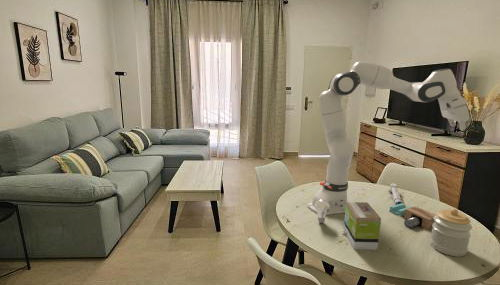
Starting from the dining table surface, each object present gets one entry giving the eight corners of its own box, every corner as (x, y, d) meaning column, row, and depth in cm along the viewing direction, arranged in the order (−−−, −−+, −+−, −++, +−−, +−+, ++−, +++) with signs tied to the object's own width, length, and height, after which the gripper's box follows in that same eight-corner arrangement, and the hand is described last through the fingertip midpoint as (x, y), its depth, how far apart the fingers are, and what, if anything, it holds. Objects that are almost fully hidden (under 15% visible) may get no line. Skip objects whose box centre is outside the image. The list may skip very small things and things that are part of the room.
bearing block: (427, 230, 131) (429, 219, 130) (404, 219, 141) (405, 209, 140) (438, 226, 135) (439, 216, 133) (414, 216, 145) (415, 206, 144)
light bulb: (320, 227, 132) (322, 204, 129) (310, 221, 138) (312, 198, 135) (331, 224, 135) (333, 201, 132) (321, 218, 141) (323, 195, 138)
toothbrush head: (394, 200, 155) (388, 180, 177) (392, 211, 157) (387, 189, 179) (405, 202, 153) (398, 181, 175) (403, 212, 155) (396, 190, 177)
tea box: (342, 230, 129) (345, 201, 126) (364, 231, 129) (368, 201, 126) (353, 249, 115) (357, 216, 112) (378, 250, 114) (382, 217, 111)
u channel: (400, 216, 144) (401, 211, 144) (389, 211, 150) (389, 206, 149) (412, 212, 149) (413, 207, 148) (401, 207, 154) (402, 203, 154)
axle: (411, 229, 132) (412, 221, 131) (403, 225, 135) (404, 218, 135) (432, 222, 139) (433, 215, 138) (424, 219, 142) (425, 211, 142)
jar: (453, 260, 109) (462, 218, 105) (422, 243, 121) (428, 205, 117) (473, 253, 114) (482, 213, 110) (441, 236, 126) (448, 200, 122)
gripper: (434, 101, 146) (441, 126, 147) (452, 105, 126) (461, 133, 128) (447, 97, 144) (455, 122, 146) (468, 100, 124) (476, 129, 126)
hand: (458, 127), depth 137 cm, fingers open, 8 cm apart
